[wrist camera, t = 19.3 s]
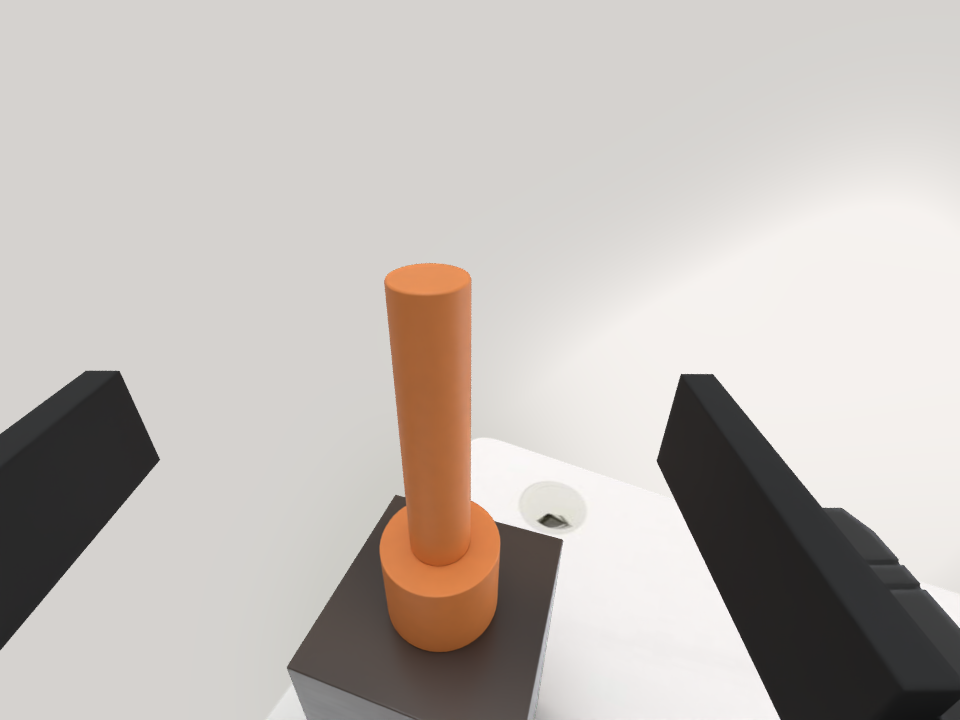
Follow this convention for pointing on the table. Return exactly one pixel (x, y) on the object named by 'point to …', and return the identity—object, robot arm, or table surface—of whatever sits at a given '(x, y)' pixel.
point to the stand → (425, 674)
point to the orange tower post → (436, 467)
